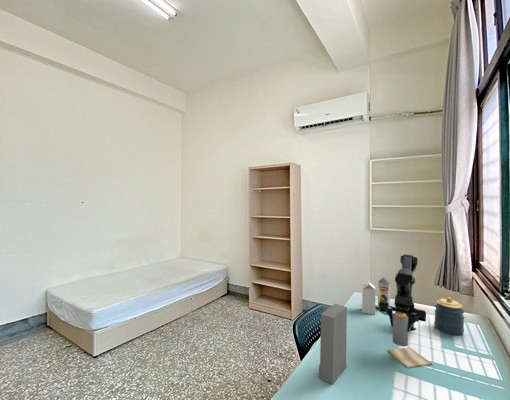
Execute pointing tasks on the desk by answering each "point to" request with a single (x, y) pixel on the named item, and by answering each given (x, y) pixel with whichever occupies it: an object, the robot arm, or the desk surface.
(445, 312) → the canister
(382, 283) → the aerosol can
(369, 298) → the milk carton
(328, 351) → the tall grey pillar
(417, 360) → the mat
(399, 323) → the canister
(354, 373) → the desk surface
